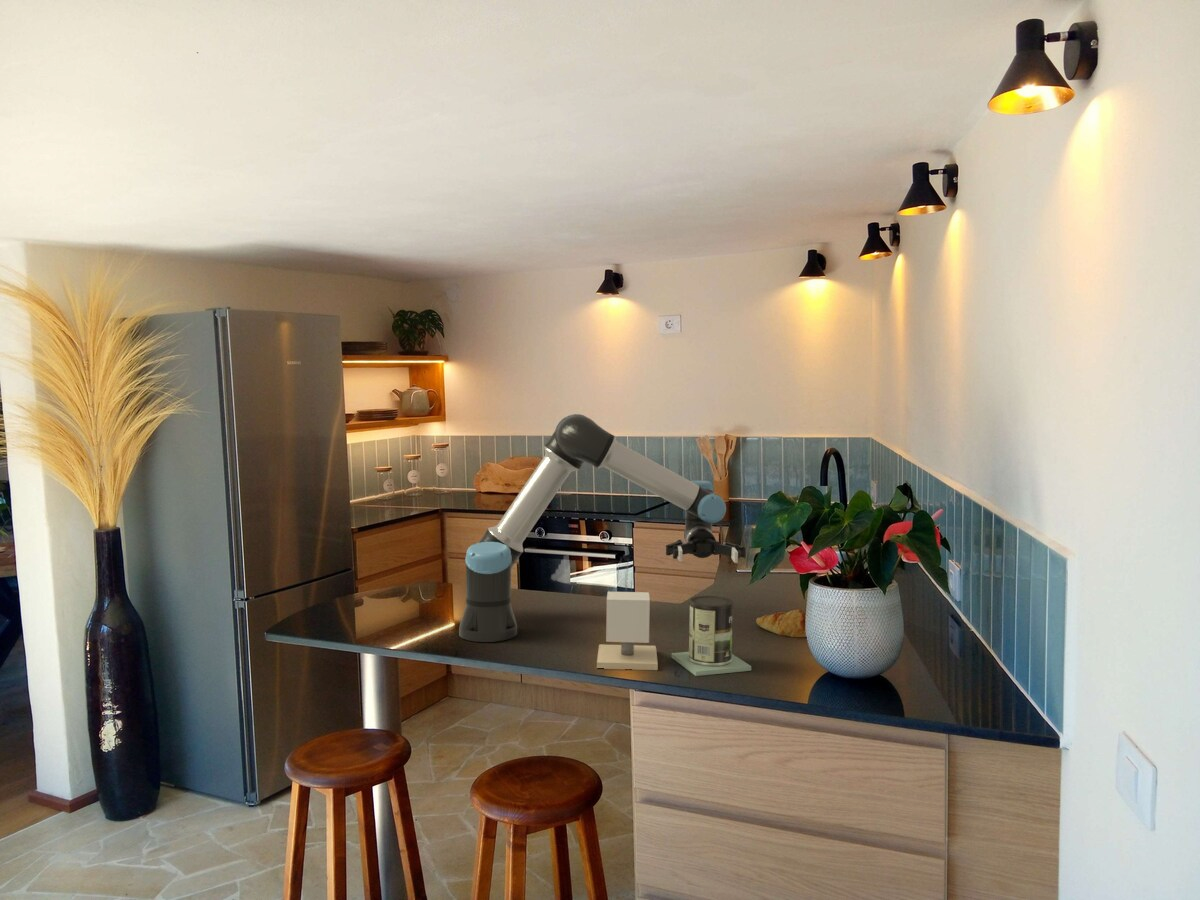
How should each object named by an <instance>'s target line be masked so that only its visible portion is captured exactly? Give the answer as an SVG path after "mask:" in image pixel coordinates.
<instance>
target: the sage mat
mask: <svg viewBox="0 0 1200 900" xmlns="http://www.w3.org/2000/svg"><path fill="white" fill-rule="evenodd" d="M688 657H689V651H683V652H672V653H671V658H672V659H673V660H674V661H676V662H677V663H678V664H680V666H682V667H683V668H685V669H686V670H687V671H688V672H689V673H691V674H692V675H694V677H698V676H699V677H700V676H701V677H702V676H710V675H711V676H712V675H720V674H728V673H729V674H730V673H740V672H749V671H752V665H750V664H748V662H745V661H744V660H743V659H741V658H739V657H738V656H736V655H734V653H732V661H731V663H729V664H727V665H722V666H705V665H700V664H696V663H693V662H691V661H690V660H689V658H688Z"/></svg>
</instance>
